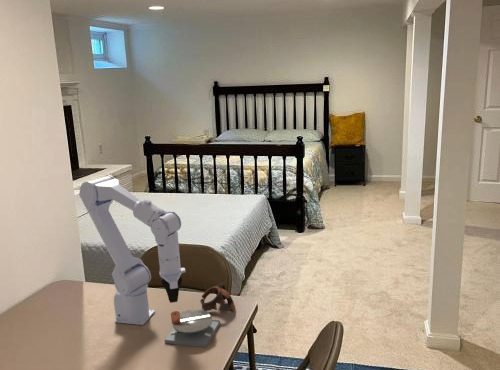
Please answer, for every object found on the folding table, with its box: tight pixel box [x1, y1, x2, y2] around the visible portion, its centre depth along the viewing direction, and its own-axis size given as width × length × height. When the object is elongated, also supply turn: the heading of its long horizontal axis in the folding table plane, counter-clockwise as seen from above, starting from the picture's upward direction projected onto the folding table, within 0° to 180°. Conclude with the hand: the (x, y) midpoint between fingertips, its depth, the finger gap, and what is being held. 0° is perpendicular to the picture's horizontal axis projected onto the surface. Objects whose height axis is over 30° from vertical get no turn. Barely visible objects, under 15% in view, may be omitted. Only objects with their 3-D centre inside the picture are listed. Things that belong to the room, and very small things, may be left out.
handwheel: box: [170, 309, 213, 334], centre depth 127 cm, size 11×11×6 cm
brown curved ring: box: [199, 282, 236, 312], centre depth 141 cm, size 12×10×8 cm
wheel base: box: [164, 319, 221, 348], centre depth 128 cm, size 12×12×1 cm
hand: (173, 301), depth 128 cm, fingers closed
